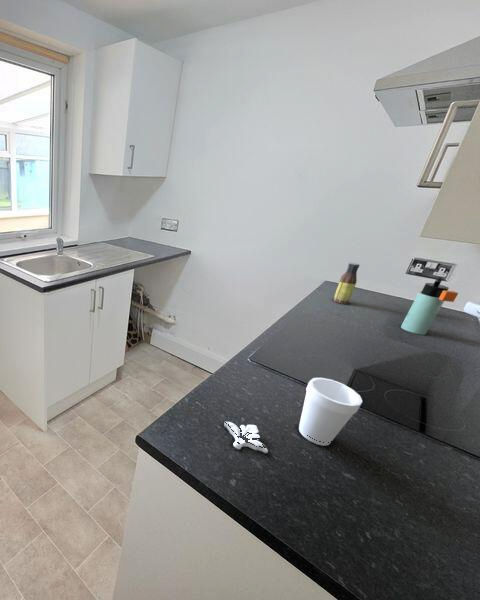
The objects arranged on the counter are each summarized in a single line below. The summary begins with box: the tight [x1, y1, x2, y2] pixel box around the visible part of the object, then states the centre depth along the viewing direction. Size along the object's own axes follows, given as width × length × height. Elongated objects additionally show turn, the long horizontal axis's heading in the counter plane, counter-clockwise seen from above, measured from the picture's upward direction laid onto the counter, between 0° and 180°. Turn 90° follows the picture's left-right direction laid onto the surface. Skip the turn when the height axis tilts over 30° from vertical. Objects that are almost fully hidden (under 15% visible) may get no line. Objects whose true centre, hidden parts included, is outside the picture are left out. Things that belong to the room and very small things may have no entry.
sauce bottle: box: [333, 262, 361, 305], centre depth 153 cm, size 7×6×20 cm
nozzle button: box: [439, 290, 459, 303], centre depth 117 cm, size 2×4×4 cm, turn 77°
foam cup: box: [298, 377, 363, 446], centre depth 71 cm, size 10×9×13 cm
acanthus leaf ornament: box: [223, 421, 269, 454], centre depth 71 cm, size 8×7×2 cm
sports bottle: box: [400, 276, 450, 336], centre depth 126 cm, size 8×8×23 cm
